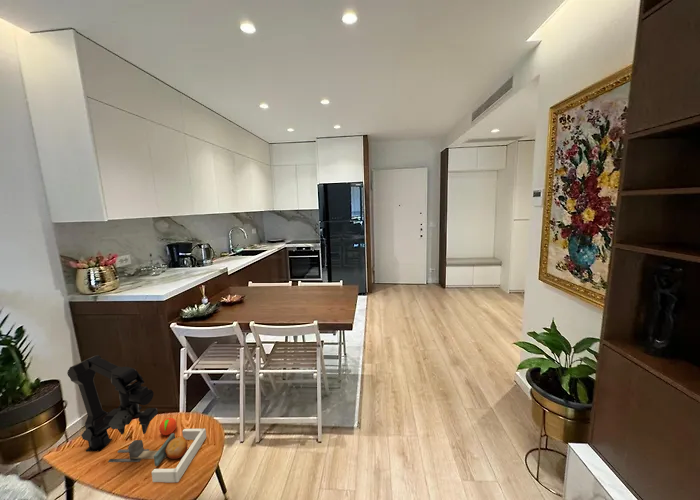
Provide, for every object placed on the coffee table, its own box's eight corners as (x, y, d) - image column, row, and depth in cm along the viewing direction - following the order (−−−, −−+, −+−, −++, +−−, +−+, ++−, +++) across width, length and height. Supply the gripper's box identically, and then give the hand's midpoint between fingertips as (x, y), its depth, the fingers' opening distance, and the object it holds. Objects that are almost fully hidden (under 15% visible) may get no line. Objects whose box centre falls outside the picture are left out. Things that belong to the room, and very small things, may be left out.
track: (108, 462, 121) (108, 461, 121) (119, 451, 127) (119, 449, 126) (139, 462, 121) (139, 460, 121) (149, 450, 126) (148, 449, 126)
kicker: (121, 468, 118) (119, 455, 117) (142, 444, 130) (140, 432, 129) (158, 468, 118) (156, 454, 117) (175, 444, 129) (174, 432, 129)
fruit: (193, 440, 130) (187, 433, 125) (187, 461, 124) (180, 455, 119) (174, 441, 129) (168, 434, 124) (167, 462, 123) (160, 456, 118)
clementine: (175, 437, 133) (173, 424, 132) (157, 442, 131) (155, 428, 130) (178, 425, 141) (177, 412, 140) (162, 429, 138) (160, 416, 137)
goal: (152, 482, 112) (151, 472, 111) (185, 437, 133) (184, 428, 133) (178, 482, 112) (176, 472, 111) (206, 437, 133) (205, 428, 133)
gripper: (89, 413, 112) (95, 449, 114) (137, 413, 112) (142, 449, 114) (112, 395, 123) (117, 428, 125) (156, 394, 123) (160, 427, 125)
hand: (133, 433), depth 122 cm, fingers open, 9 cm apart
